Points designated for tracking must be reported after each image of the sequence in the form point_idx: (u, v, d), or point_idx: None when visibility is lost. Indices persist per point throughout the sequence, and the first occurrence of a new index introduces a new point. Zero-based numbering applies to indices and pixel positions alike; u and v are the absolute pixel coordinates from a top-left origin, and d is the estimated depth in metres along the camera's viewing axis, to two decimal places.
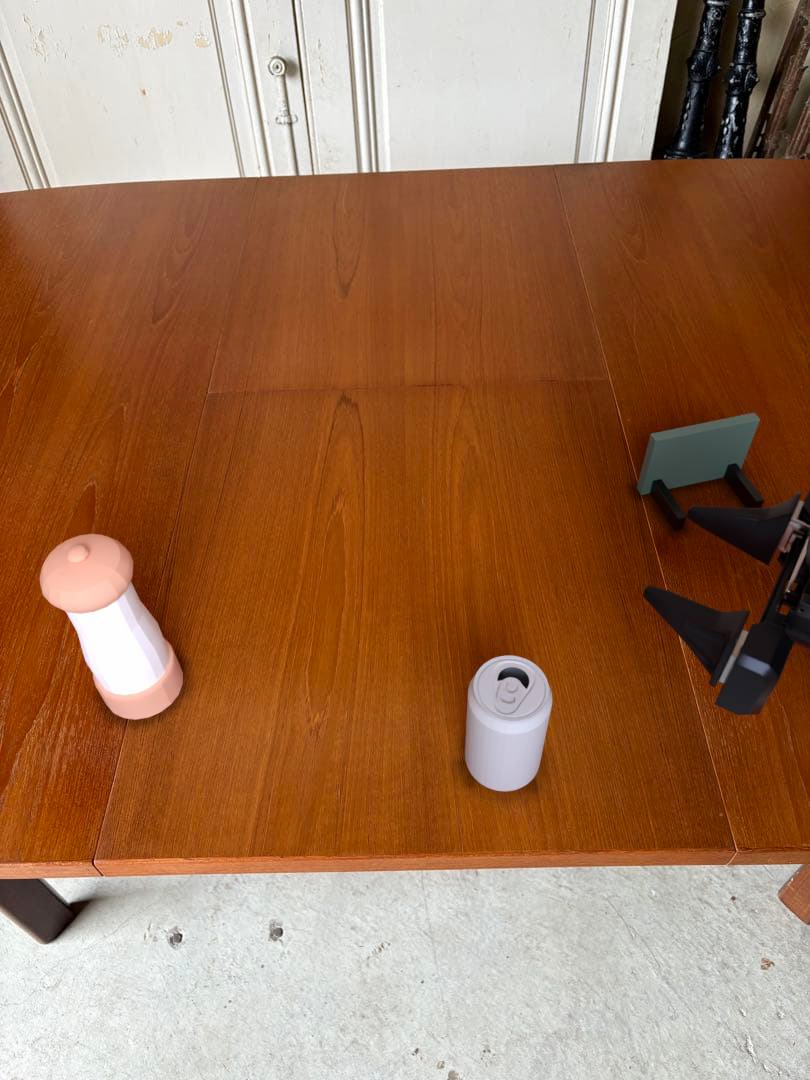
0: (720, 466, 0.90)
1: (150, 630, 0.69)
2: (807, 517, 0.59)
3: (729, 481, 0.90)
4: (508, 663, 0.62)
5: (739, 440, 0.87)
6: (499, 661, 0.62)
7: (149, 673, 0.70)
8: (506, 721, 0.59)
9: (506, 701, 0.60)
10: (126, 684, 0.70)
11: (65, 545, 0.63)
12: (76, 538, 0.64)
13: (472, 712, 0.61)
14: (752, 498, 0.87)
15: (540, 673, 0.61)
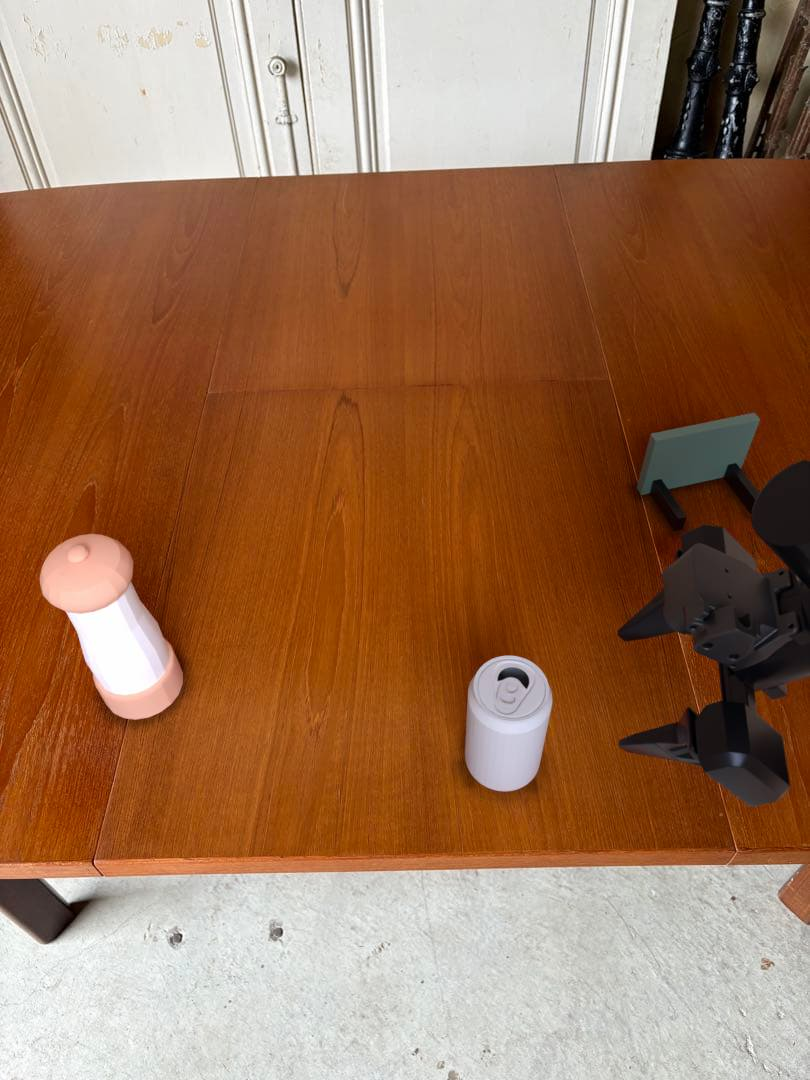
0: (720, 466, 0.90)
1: (150, 630, 0.69)
2: None
3: (729, 481, 0.90)
4: (508, 663, 0.62)
5: (739, 440, 0.87)
6: (499, 661, 0.62)
7: (149, 673, 0.70)
8: (506, 721, 0.59)
9: (506, 701, 0.60)
10: (126, 684, 0.70)
11: (65, 545, 0.63)
12: (76, 538, 0.64)
13: (472, 712, 0.61)
14: (752, 498, 0.87)
15: (540, 673, 0.61)
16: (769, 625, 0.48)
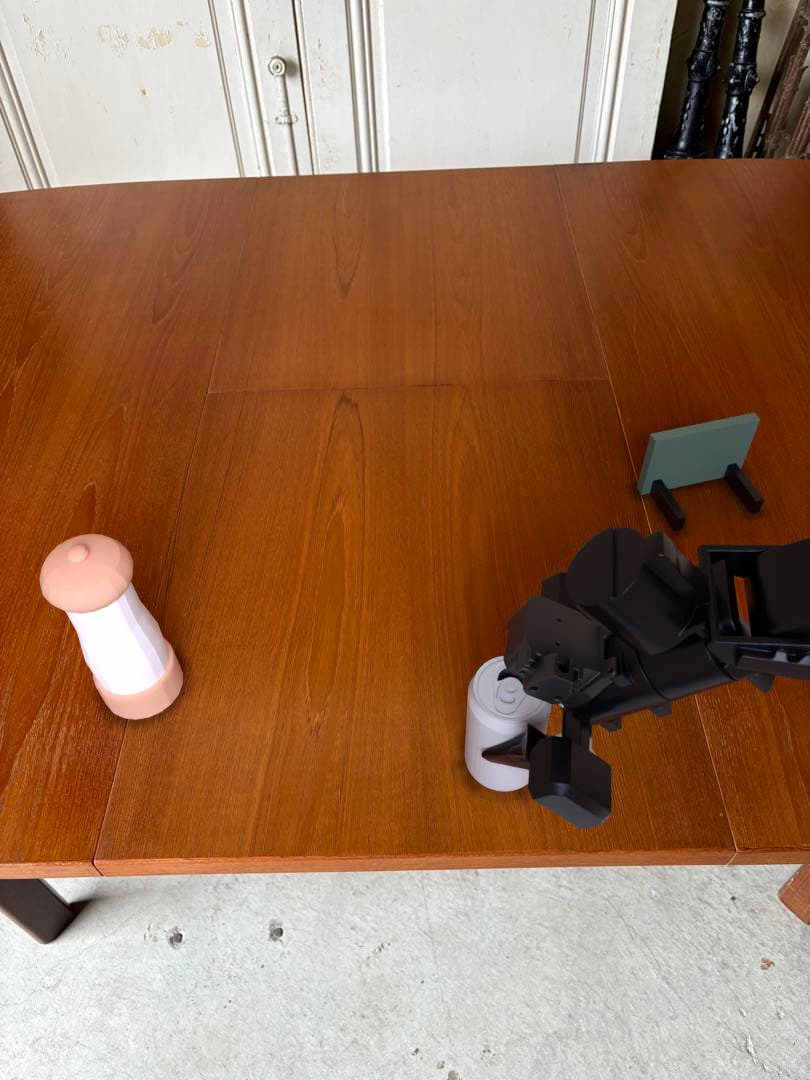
0: (720, 466, 0.90)
1: (150, 630, 0.69)
2: None
3: (729, 481, 0.90)
4: None
5: (739, 440, 0.87)
6: (499, 661, 0.62)
7: (149, 673, 0.70)
8: (506, 721, 0.59)
9: (505, 701, 0.60)
10: (126, 684, 0.70)
11: (65, 545, 0.63)
12: (76, 538, 0.64)
13: (472, 712, 0.61)
14: (752, 498, 0.87)
15: None
16: (592, 669, 0.54)
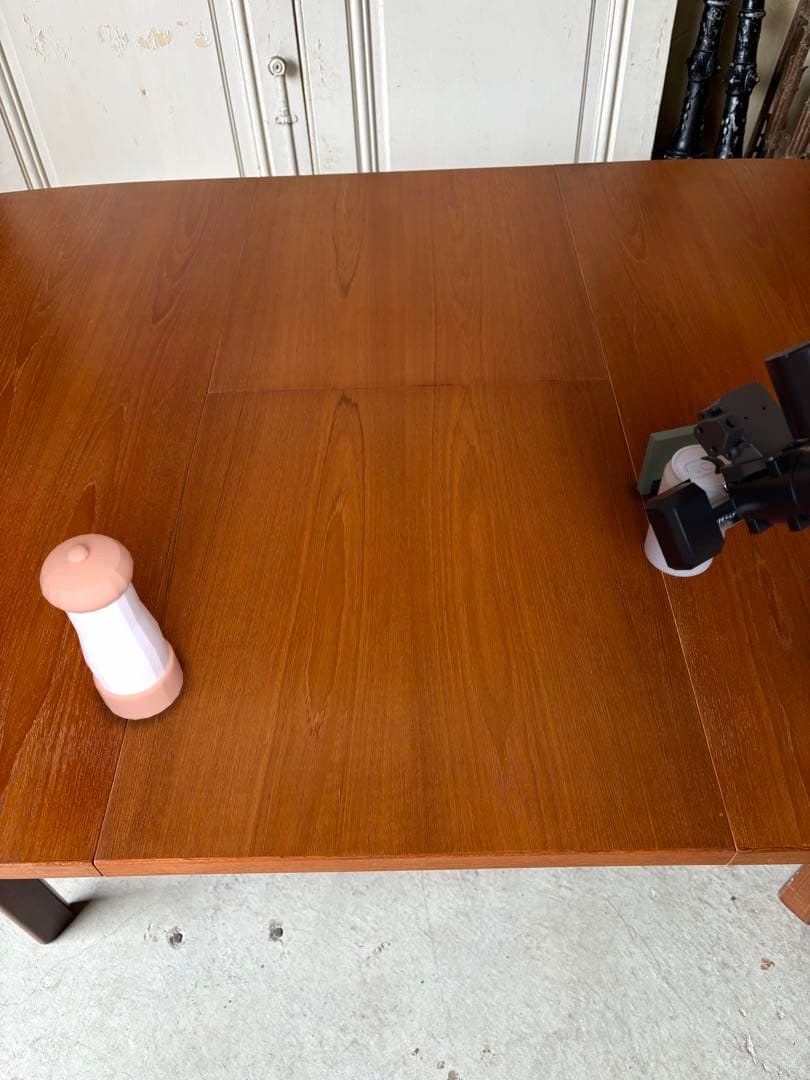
0: None
1: (150, 630, 0.69)
2: None
3: None
4: None
5: None
6: None
7: (149, 673, 0.70)
8: (679, 479, 0.69)
9: (692, 471, 0.70)
10: (126, 684, 0.70)
11: (65, 545, 0.63)
12: (76, 538, 0.64)
13: None
14: None
15: None
16: (758, 450, 0.62)
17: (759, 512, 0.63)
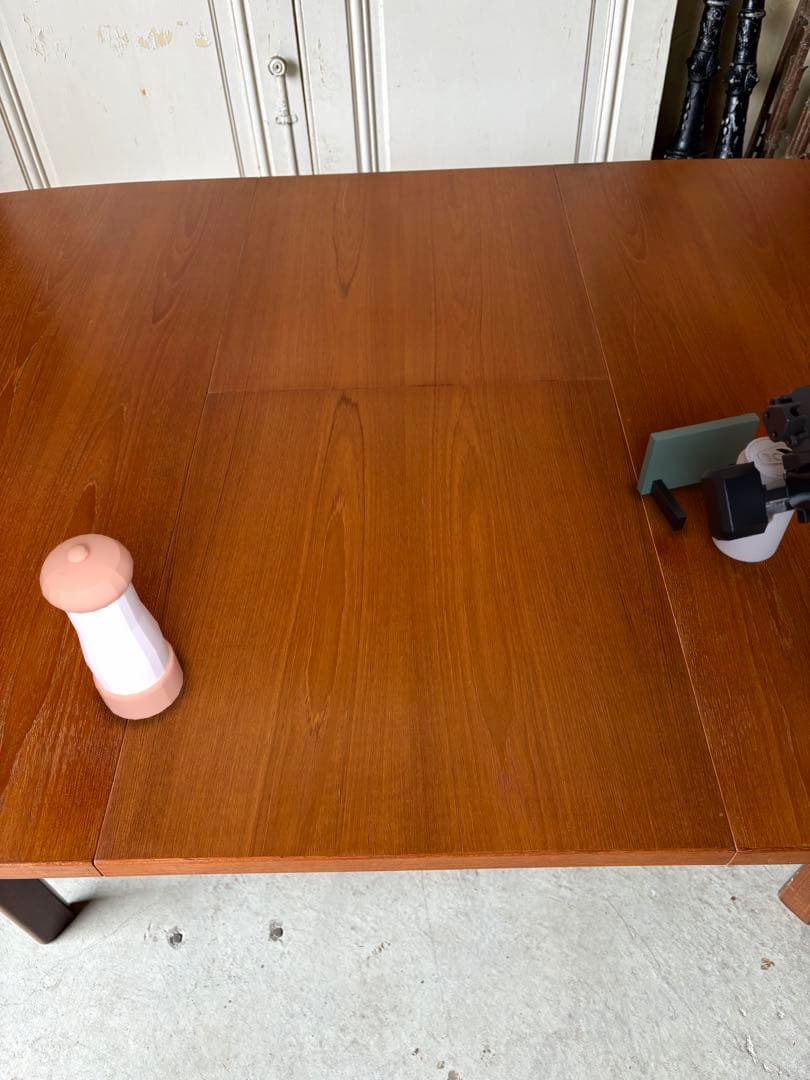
0: (720, 466, 0.90)
1: (150, 630, 0.69)
2: None
3: None
4: None
5: (739, 440, 0.87)
6: None
7: (149, 673, 0.70)
8: None
9: (763, 458, 0.74)
10: (126, 684, 0.70)
11: (65, 545, 0.63)
12: (76, 538, 0.64)
13: (741, 453, 0.77)
14: None
15: None
16: None
17: (807, 502, 0.67)
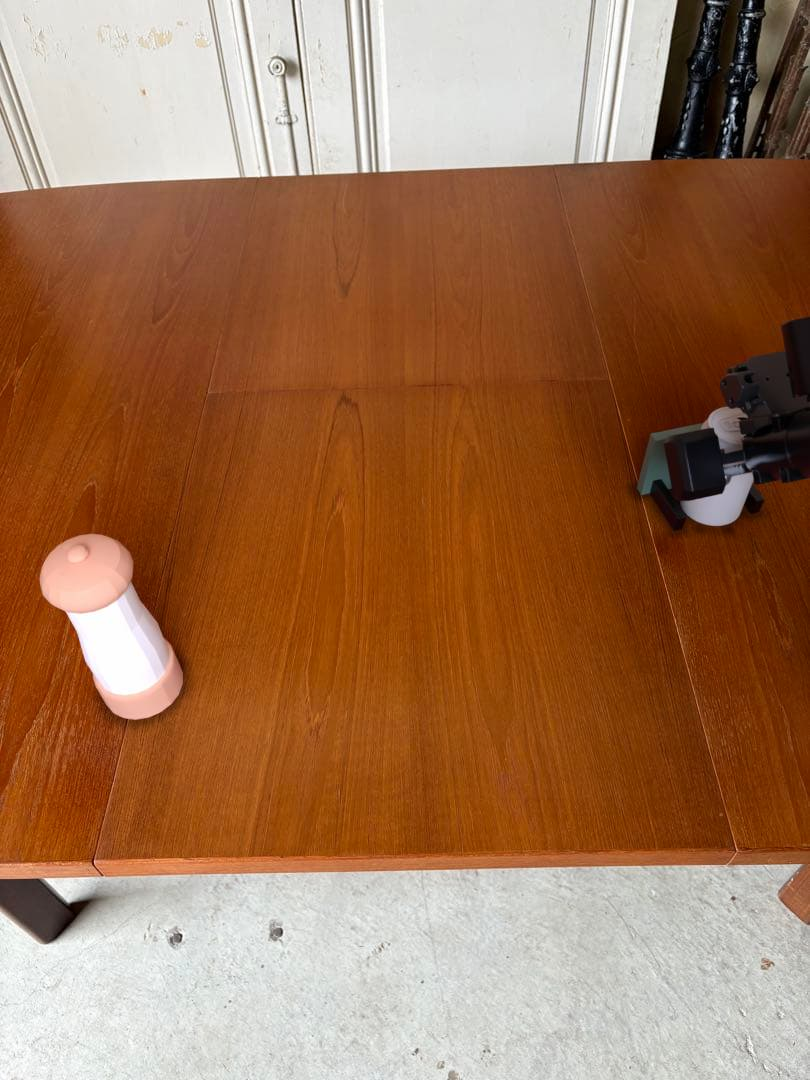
0: None
1: (150, 630, 0.69)
2: None
3: None
4: None
5: None
6: None
7: (149, 673, 0.70)
8: None
9: (724, 426, 0.80)
10: (126, 684, 0.70)
11: (65, 545, 0.63)
12: (76, 538, 0.64)
13: (705, 422, 0.82)
14: (752, 498, 0.87)
15: None
16: (769, 408, 0.71)
17: (761, 463, 0.72)
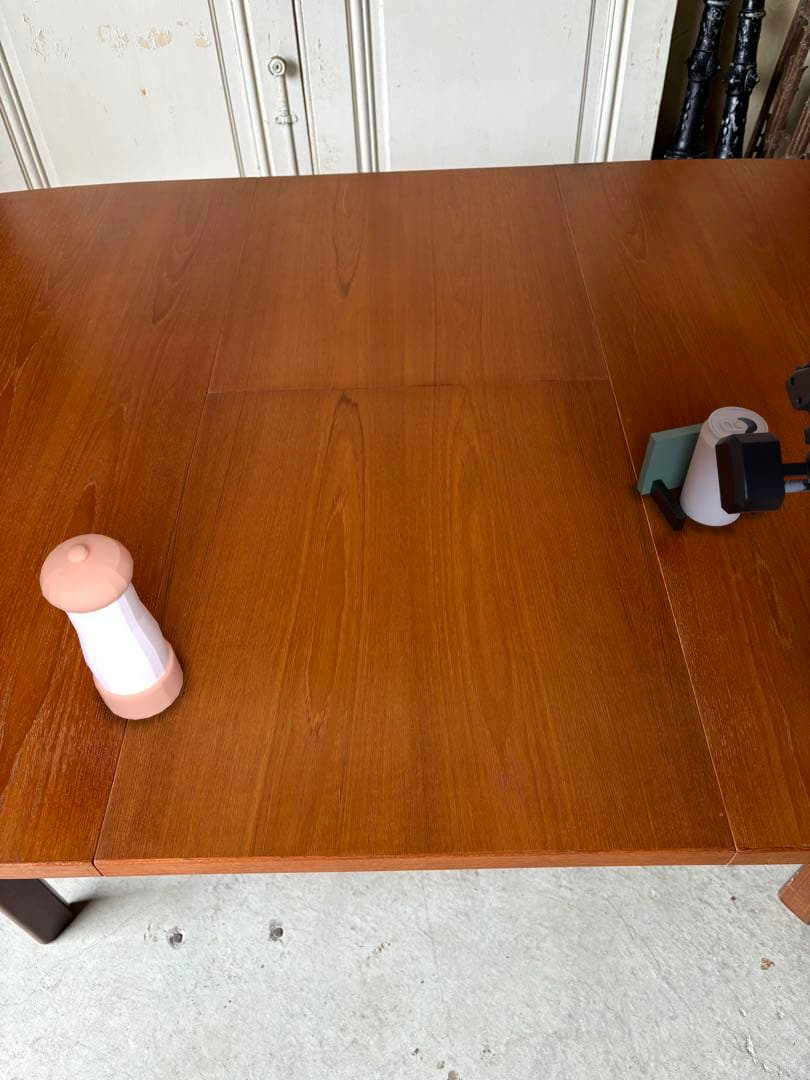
0: None
1: (150, 630, 0.69)
2: None
3: None
4: (755, 419, 0.80)
5: None
6: (752, 414, 0.80)
7: (149, 673, 0.70)
8: (711, 430, 0.79)
9: (725, 426, 0.79)
10: (126, 684, 0.70)
11: (65, 545, 0.63)
12: (76, 538, 0.64)
13: (705, 422, 0.82)
14: None
15: None
16: None
17: None
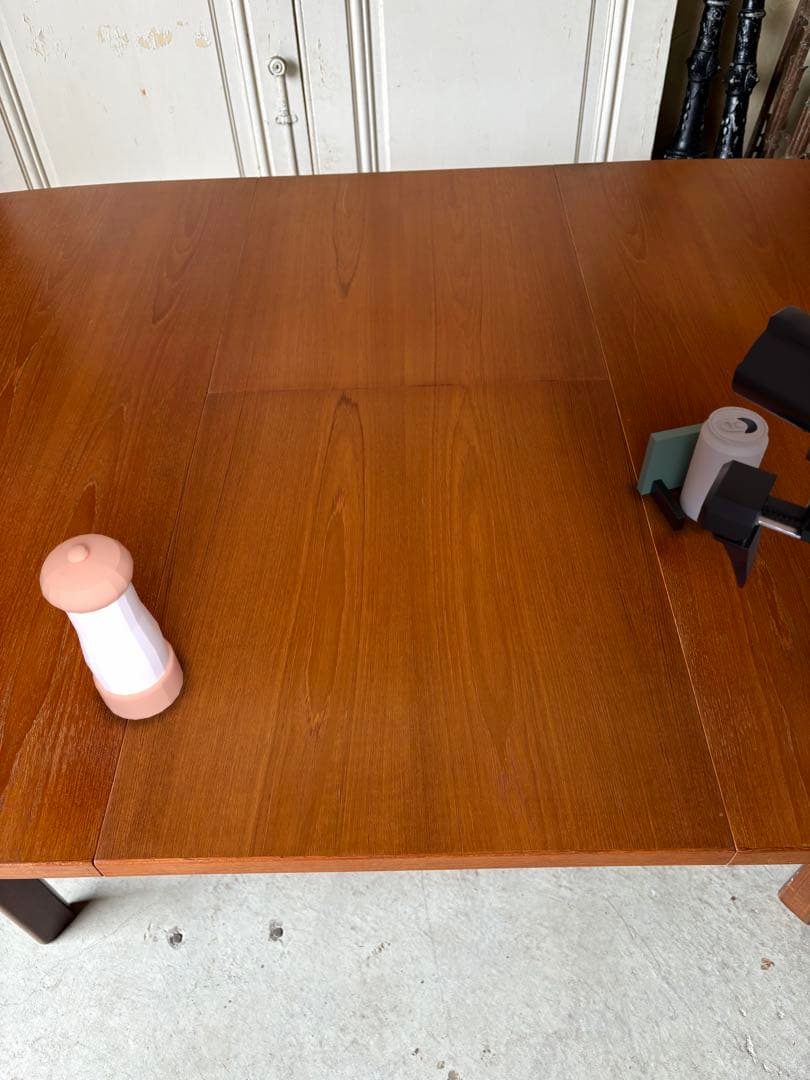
0: None
1: (150, 630, 0.69)
2: None
3: None
4: (755, 419, 0.80)
5: None
6: (752, 414, 0.80)
7: (149, 673, 0.70)
8: (711, 430, 0.79)
9: (725, 426, 0.79)
10: (126, 684, 0.70)
11: (65, 545, 0.63)
12: (76, 538, 0.64)
13: (705, 422, 0.82)
14: None
15: (763, 436, 0.78)
16: None
17: None
